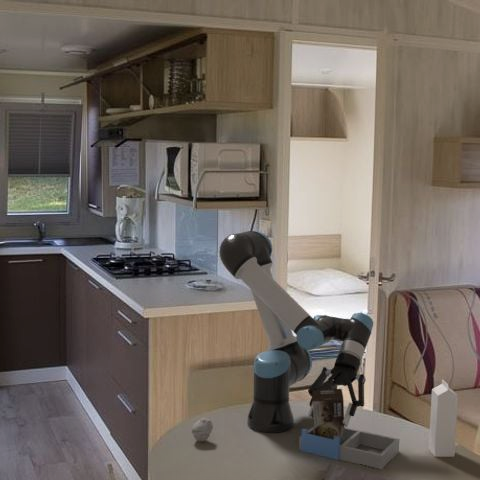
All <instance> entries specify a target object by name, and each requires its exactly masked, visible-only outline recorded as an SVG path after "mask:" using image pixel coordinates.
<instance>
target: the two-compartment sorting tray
mask: <svg viewBox="0 0 480 480" xmlns="http://www.w3.org/2000/svg"><path fill="white" fill-rule="evenodd" d="M344 431H345V442H344V443H343V444H342V445H340V437H338V436H334V439H329V438H325V437H321V436H316V435H314V426H312V427H310V428H309V429H308V428H301V435H299V437H298V438H299V439H298V441H299V442H298V450H299V451H300V452H304V453H309V454H313V455H316V456H320V457H324V458H329V459H332V460H337V461H339V460H341V461H345V462H349V463H353V464H356V465H360V464H363V465H362V466H364V465H367V466H366V467H368V466H371V467H370V468H372V467H374V468H373V469H377V468H378V469H377V470H381V469H382V468H383V467H384V466H385V465H386V464H387V463H388V462H389V461H390V460H391V459H392V460H393V459H394V458H395V456H396V455H398V454H399V453H400V440H401V439H400V438H397V437H396V438H395V437H392V436H386V435H382V434H378V433H373V432H369V431H366V430H365V431H363V430H359V429H355V428H350V427H348V426H347V427H346V426H344ZM360 445H362V446H366V447H370V448H375V449H379V450H383V451H382V452H381V453H376V452H372V451H367V450H363V449H360V448H358V447H359V446H360ZM390 462H391V461H390ZM390 462H389V463H390ZM357 463H358V464H357ZM389 463H388V464H389ZM388 464H387V465H388ZM387 465H386V466H387ZM386 466H385V467H386ZM385 467H384V468H385ZM384 468H383V469H384ZM383 469H382V470H383Z"/></svg>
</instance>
